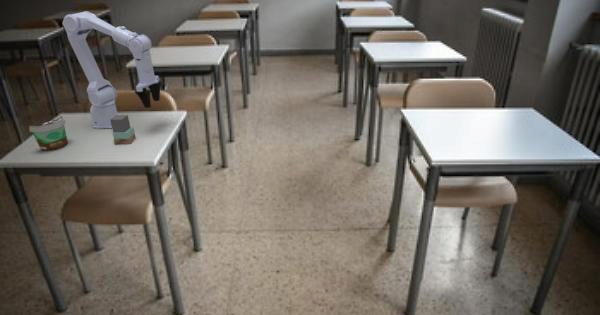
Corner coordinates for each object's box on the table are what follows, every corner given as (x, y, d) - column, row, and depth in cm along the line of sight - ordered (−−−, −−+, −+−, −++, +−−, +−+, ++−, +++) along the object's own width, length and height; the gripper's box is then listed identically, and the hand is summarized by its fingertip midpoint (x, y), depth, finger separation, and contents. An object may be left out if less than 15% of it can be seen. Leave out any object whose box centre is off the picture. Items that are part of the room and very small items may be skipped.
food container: (46, 155, 148) (37, 129, 143) (36, 151, 151) (27, 126, 146) (78, 142, 157) (71, 117, 152) (69, 139, 160) (61, 114, 155)
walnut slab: (115, 146, 154) (113, 139, 153) (119, 139, 159) (118, 133, 158) (131, 144, 154) (130, 138, 153) (135, 138, 160) (134, 132, 158)
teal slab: (114, 138, 153) (112, 132, 152) (120, 133, 158) (119, 126, 157) (128, 139, 153) (126, 132, 152) (134, 133, 158) (133, 126, 157)
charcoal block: (113, 132, 153) (110, 119, 150) (119, 127, 157) (116, 115, 154) (124, 132, 152) (121, 119, 150) (130, 127, 156) (127, 115, 154)
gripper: (146, 74, 148) (153, 110, 155) (163, 64, 161) (169, 97, 167) (127, 74, 149) (135, 110, 156) (146, 64, 162) (153, 97, 168)
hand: (152, 103), depth 162 cm, fingers open, 7 cm apart
